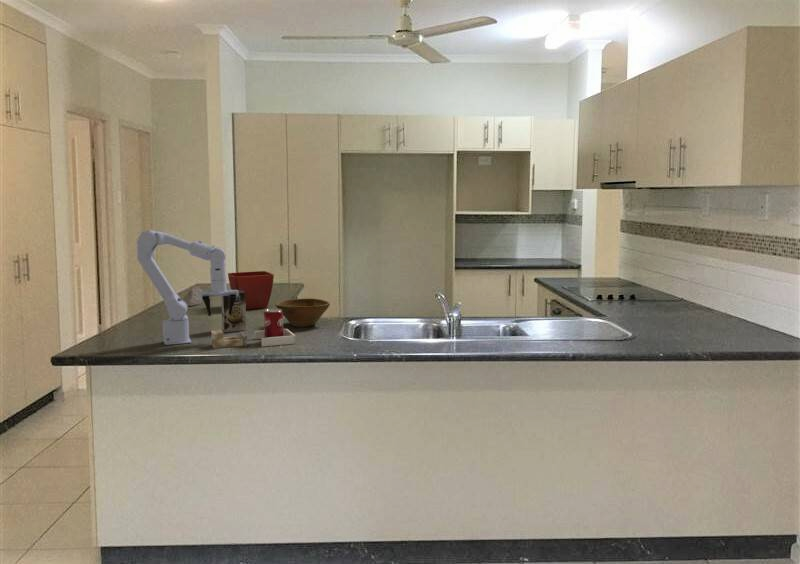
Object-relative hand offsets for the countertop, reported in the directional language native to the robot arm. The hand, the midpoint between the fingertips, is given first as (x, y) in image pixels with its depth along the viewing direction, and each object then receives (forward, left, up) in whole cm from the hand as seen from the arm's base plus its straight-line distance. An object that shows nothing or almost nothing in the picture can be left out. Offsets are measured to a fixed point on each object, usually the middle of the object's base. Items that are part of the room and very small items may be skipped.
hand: (219, 314), depth 262 cm
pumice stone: (-2, +92, -10) cm, 93 cm away
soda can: (+19, -10, -10) cm, 23 cm away
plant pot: (+25, +73, -10) cm, 78 cm away
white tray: (+19, -10, -10) cm, 24 cm away
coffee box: (+8, +18, -10) cm, 22 cm away
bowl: (+37, +17, -10) cm, 42 cm away
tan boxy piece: (+2, -10, -10) cm, 14 cm away
